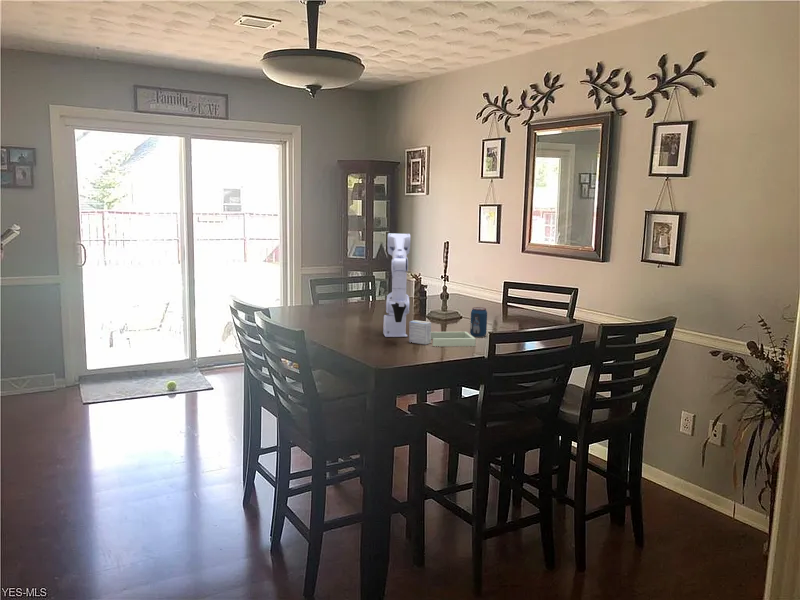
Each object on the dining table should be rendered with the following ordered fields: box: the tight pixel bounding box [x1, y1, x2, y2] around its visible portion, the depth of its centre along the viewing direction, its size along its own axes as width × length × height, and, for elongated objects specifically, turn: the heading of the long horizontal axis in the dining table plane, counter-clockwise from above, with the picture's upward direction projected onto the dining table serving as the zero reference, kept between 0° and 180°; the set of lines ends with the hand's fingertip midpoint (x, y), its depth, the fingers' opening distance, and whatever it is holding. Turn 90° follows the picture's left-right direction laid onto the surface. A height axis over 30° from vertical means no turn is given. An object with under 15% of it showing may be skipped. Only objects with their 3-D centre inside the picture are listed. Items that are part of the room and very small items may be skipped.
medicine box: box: [408, 319, 432, 345], centre depth 256 cm, size 8×4×9 cm, turn 59°
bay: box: [431, 331, 477, 348], centre depth 258 cm, size 17×14×3 cm
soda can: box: [469, 306, 488, 338], centre depth 272 cm, size 7×7×12 cm
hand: (398, 322), depth 253 cm, fingers closed
